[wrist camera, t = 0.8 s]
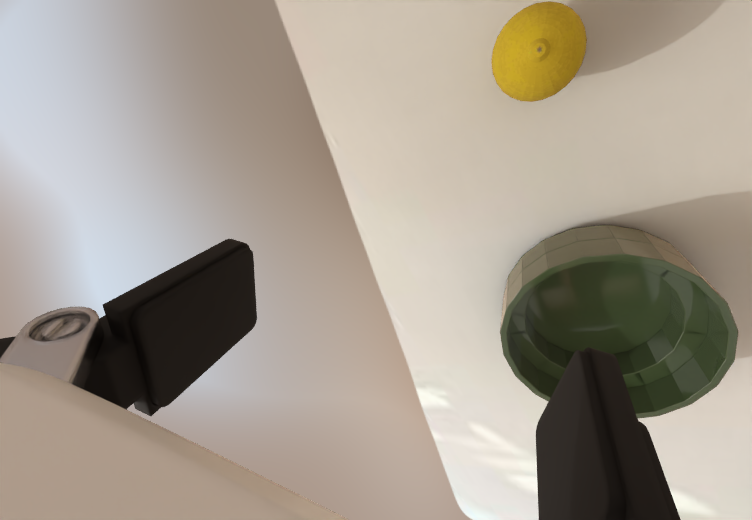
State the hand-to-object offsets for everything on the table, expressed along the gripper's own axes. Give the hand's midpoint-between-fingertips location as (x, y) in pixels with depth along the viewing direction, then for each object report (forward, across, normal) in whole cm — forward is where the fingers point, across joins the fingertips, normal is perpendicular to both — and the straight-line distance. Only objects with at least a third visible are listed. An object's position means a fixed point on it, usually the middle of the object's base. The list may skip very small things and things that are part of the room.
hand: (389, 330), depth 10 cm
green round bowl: (+25, -13, +10) cm, 30 cm away
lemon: (+25, -2, -8) cm, 26 cm away
